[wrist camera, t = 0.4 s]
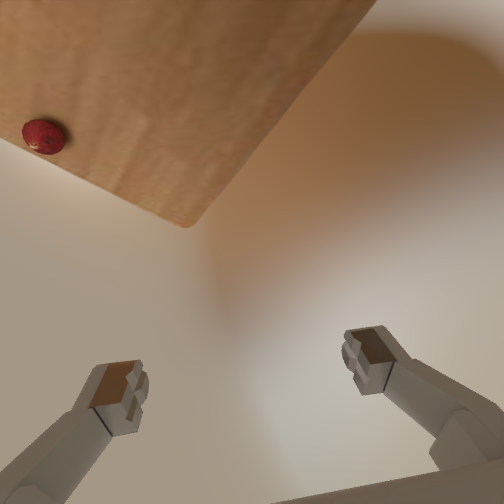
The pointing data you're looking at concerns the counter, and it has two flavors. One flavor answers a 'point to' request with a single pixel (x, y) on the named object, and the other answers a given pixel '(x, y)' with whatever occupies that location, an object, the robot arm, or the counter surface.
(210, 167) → the counter surface
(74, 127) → the counter surface
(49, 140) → the onion
